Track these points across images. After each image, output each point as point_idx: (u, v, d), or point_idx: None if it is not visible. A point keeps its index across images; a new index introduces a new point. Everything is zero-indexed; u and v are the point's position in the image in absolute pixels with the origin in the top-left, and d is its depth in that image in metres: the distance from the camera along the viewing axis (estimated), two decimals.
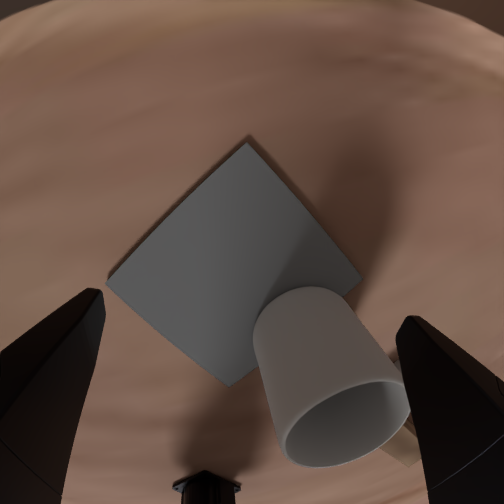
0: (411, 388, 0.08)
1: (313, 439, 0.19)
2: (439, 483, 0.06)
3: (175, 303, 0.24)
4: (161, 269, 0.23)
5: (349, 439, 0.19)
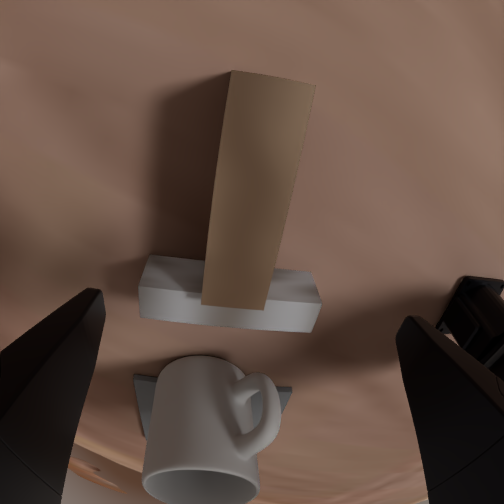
0: (411, 388, 0.08)
1: None
2: (439, 483, 0.06)
3: None
4: None
5: None
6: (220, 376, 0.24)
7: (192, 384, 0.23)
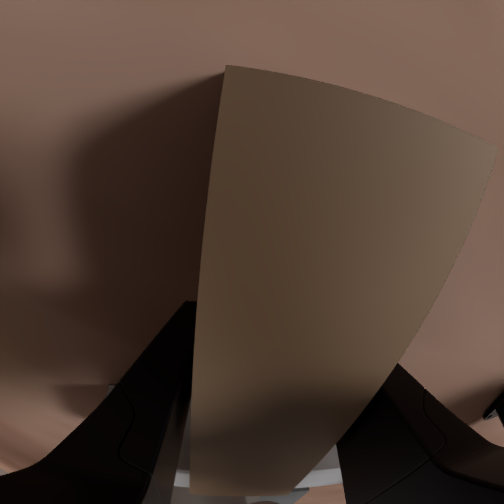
0: None
1: None
2: None
3: None
4: None
5: None
6: (222, 500, 0.15)
7: None
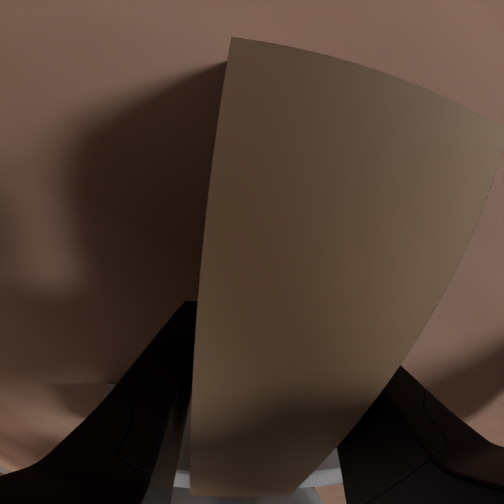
0: None
1: None
2: None
3: None
4: None
5: None
6: None
7: (187, 497, 0.12)
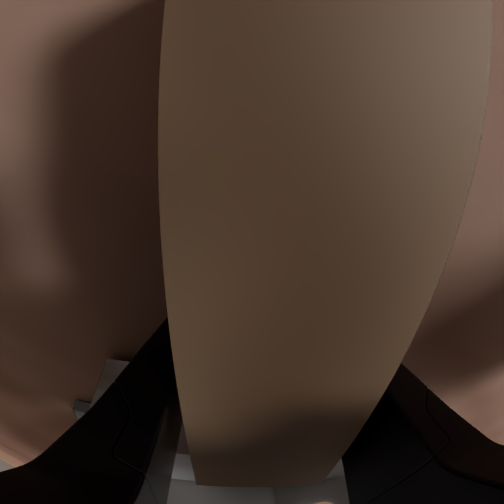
0: None
1: None
2: None
3: None
4: None
5: None
6: None
7: (201, 488, 0.09)
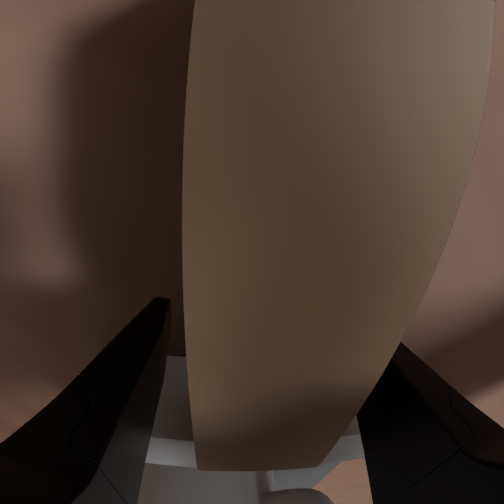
0: None
1: None
2: (384, 500, 0.06)
3: None
4: None
5: None
6: (245, 484, 0.12)
7: (200, 502, 0.10)
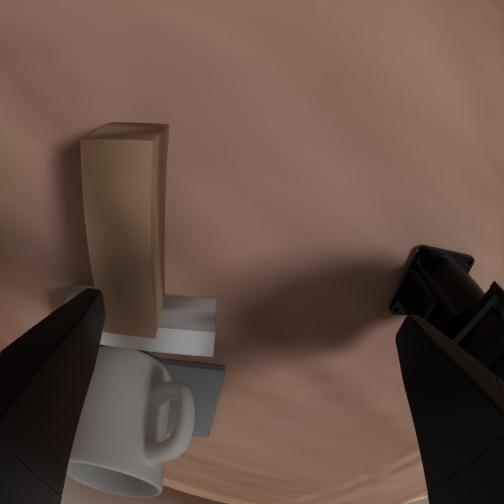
0: (411, 388, 0.08)
1: None
2: (439, 483, 0.06)
3: None
4: (173, 424, 0.32)
5: None
6: (144, 374, 0.23)
7: (115, 378, 0.22)
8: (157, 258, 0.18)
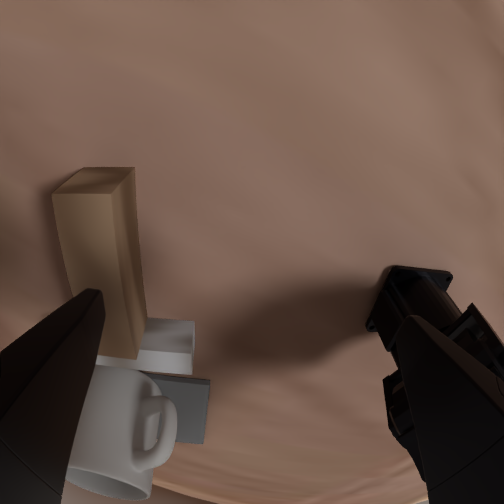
0: (411, 388, 0.08)
1: None
2: (439, 483, 0.06)
3: (179, 425, 0.32)
4: None
5: None
6: (133, 389, 0.25)
7: (107, 393, 0.23)
8: (132, 290, 0.20)
